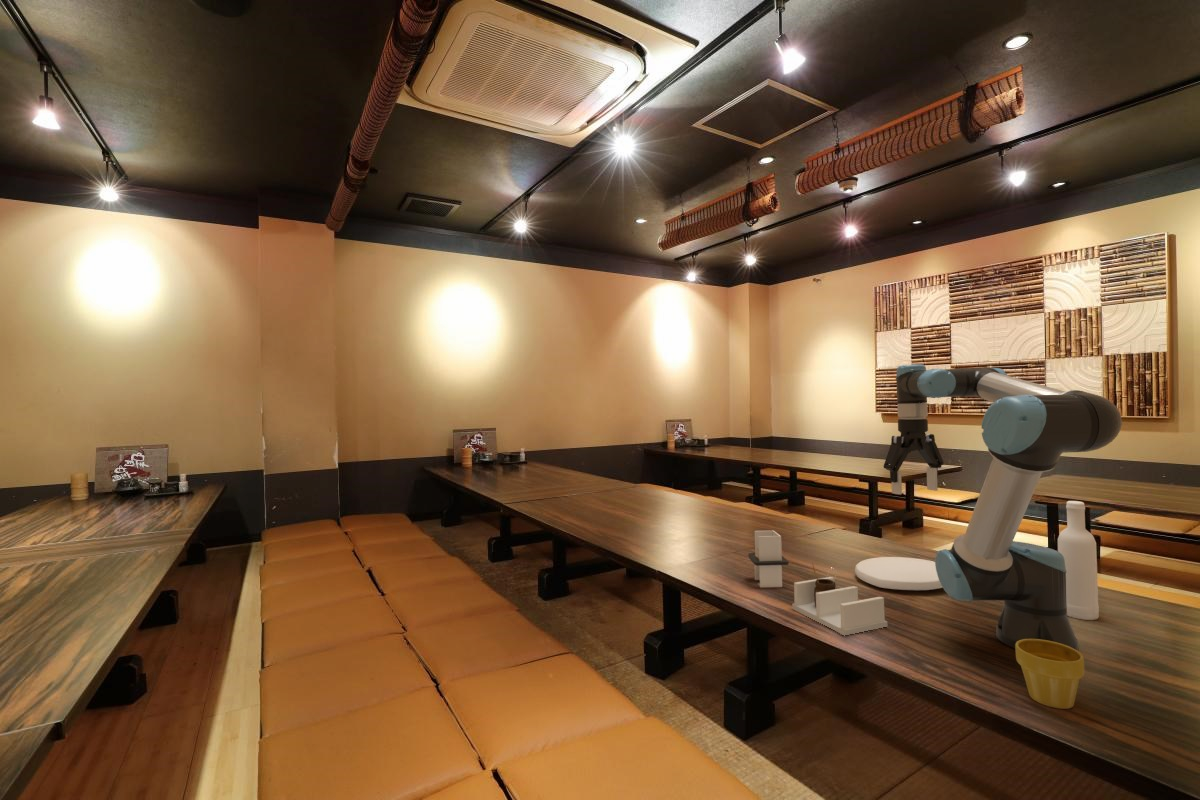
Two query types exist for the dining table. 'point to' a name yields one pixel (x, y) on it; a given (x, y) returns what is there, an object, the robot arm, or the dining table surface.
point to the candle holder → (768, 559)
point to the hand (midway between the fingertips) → (914, 492)
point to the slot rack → (839, 608)
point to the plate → (899, 573)
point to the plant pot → (1050, 671)
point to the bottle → (1079, 564)
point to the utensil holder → (823, 584)
